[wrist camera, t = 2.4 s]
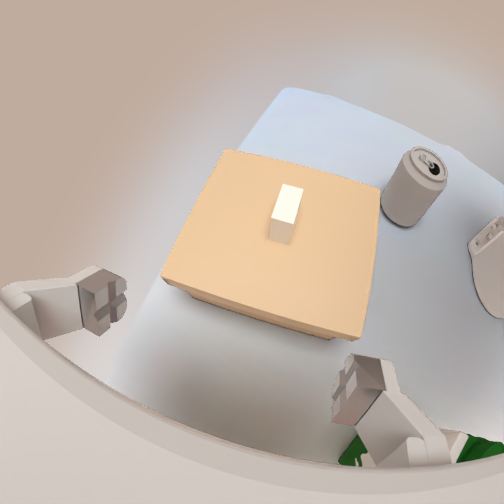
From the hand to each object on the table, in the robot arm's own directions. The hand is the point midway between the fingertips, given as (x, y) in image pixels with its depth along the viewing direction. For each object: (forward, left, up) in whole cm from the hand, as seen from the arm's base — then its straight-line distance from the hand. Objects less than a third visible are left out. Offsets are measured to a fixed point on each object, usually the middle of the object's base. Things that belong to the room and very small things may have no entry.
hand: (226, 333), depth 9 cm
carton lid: (-11, -8, -17) cm, 22 cm away
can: (-33, -3, -24) cm, 41 cm away
